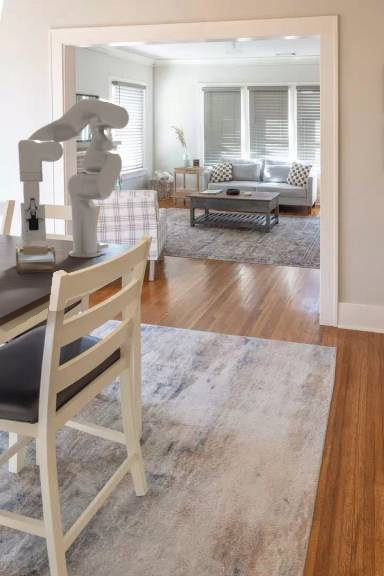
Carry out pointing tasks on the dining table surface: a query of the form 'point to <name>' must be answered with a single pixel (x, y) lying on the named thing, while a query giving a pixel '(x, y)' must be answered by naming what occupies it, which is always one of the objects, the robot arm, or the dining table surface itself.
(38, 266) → the box
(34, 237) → the supplement box
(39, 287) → the dining table surface
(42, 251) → the lid
